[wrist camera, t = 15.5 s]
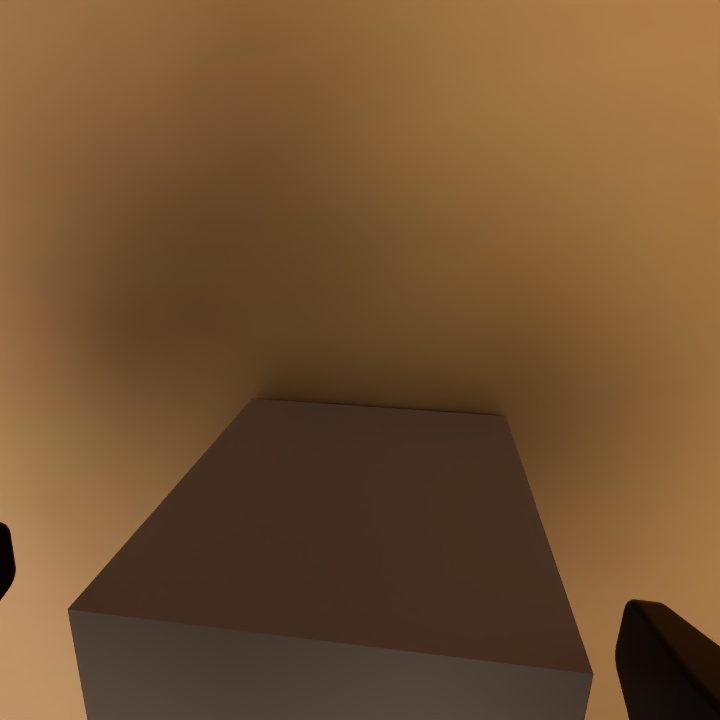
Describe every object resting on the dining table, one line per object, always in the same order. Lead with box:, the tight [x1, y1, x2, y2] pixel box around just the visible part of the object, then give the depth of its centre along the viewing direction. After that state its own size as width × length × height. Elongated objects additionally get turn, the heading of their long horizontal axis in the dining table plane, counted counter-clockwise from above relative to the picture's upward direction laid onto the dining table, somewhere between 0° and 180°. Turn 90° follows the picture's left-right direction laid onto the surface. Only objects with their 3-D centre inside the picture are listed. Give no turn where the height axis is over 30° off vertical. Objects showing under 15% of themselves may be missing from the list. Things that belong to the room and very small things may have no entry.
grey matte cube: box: [68, 398, 593, 720], centre depth 13 cm, size 8×8×9 cm
